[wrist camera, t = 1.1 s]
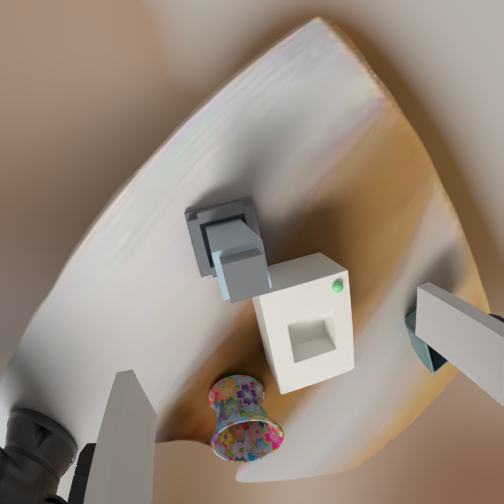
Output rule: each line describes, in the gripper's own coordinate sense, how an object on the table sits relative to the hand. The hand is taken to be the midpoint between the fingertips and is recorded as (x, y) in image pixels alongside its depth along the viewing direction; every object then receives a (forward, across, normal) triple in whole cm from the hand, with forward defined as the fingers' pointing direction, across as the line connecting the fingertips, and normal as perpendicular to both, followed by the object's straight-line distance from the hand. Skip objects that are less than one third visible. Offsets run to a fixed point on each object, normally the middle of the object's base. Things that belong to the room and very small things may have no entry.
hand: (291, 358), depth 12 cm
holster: (+26, 0, 0) cm, 26 cm away
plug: (+25, 0, 0) cm, 25 cm away
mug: (+26, -5, -25) cm, 36 cm away
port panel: (+26, +6, -12) cm, 29 cm away
